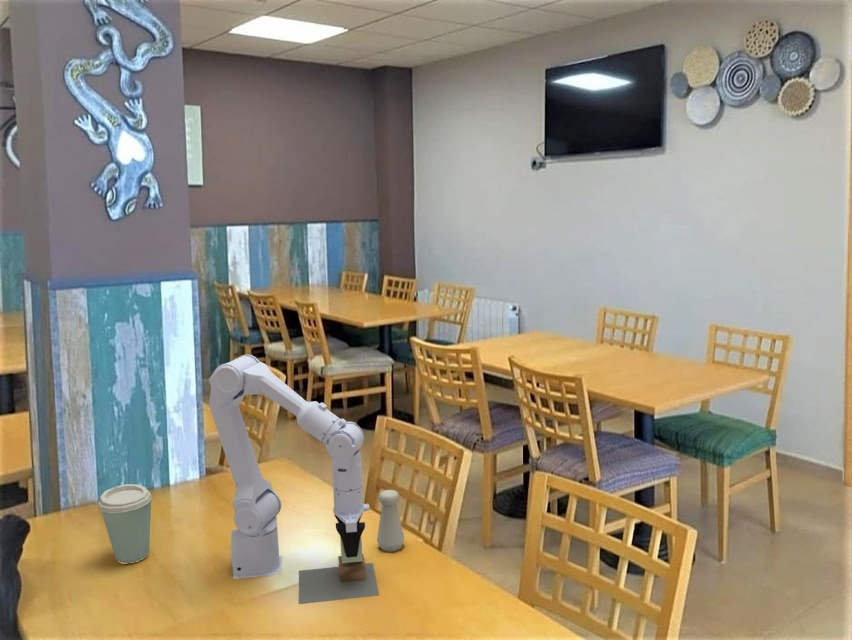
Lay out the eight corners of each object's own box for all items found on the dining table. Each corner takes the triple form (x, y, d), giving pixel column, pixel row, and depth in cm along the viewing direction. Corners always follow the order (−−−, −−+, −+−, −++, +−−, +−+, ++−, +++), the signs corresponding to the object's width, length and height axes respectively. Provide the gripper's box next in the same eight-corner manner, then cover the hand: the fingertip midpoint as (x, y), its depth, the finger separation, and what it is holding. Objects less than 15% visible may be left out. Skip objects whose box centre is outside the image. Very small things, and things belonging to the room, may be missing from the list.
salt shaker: (401, 556, 162) (398, 498, 160) (374, 554, 163) (372, 496, 161) (407, 544, 168) (405, 487, 166) (381, 542, 169) (379, 486, 167)
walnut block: (340, 582, 151) (339, 567, 151) (338, 570, 156) (338, 556, 156) (365, 579, 152) (365, 565, 151) (363, 567, 157) (363, 553, 156)
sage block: (342, 563, 151) (341, 544, 150) (341, 554, 155) (340, 535, 154) (362, 561, 152) (361, 542, 151) (361, 552, 156) (360, 533, 155)
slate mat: (298, 606, 144) (298, 603, 144) (299, 573, 156) (298, 570, 156) (379, 598, 146) (379, 595, 146) (372, 565, 159) (372, 563, 159)
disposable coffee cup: (166, 556, 165) (160, 490, 163) (118, 575, 158) (111, 506, 155) (142, 542, 173) (136, 478, 170) (95, 560, 165) (88, 493, 162)
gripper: (371, 498, 144) (374, 566, 147) (365, 471, 159) (368, 533, 161) (333, 501, 143) (337, 570, 146) (330, 474, 158) (333, 536, 160)
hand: (351, 551), depth 153 cm, fingers closed on sage block, 4 cm apart
